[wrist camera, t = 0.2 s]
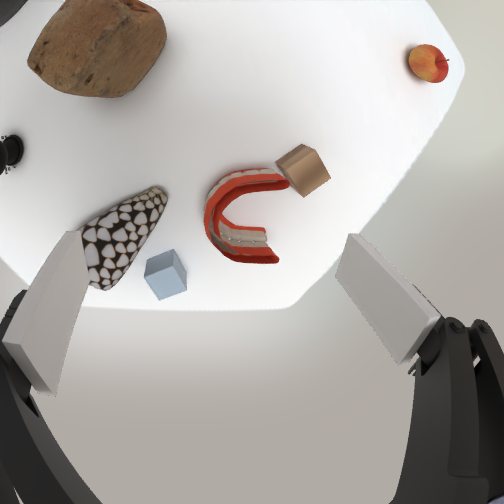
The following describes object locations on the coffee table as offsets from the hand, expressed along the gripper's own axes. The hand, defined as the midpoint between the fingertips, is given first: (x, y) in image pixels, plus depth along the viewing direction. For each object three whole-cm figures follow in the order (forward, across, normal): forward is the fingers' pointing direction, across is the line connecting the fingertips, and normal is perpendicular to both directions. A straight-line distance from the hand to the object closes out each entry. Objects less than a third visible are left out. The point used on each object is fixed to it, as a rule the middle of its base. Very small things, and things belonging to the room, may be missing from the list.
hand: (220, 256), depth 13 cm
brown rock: (+28, -11, +13) cm, 33 cm away
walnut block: (+28, +15, -1) cm, 32 cm away
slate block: (+28, -4, -19) cm, 34 cm away
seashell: (+28, -12, -11) cm, 33 cm away
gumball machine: (+28, -31, +2) cm, 42 cm away
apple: (+28, +35, +23) cm, 51 cm away
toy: (+28, +6, -8) cm, 30 cm away
